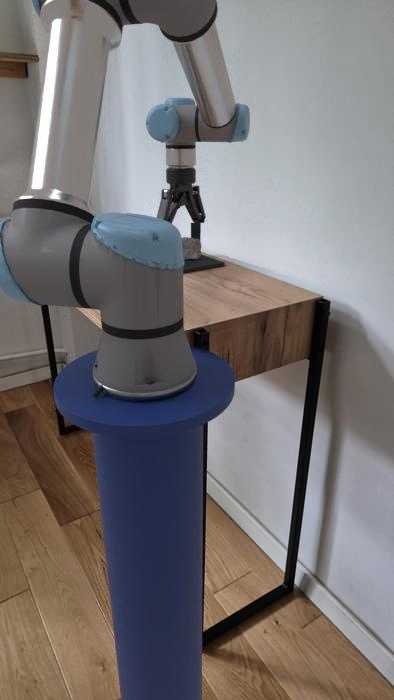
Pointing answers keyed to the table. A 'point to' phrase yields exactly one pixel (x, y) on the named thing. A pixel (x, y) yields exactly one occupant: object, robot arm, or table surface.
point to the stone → (191, 248)
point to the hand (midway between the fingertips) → (181, 251)
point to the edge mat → (201, 264)
